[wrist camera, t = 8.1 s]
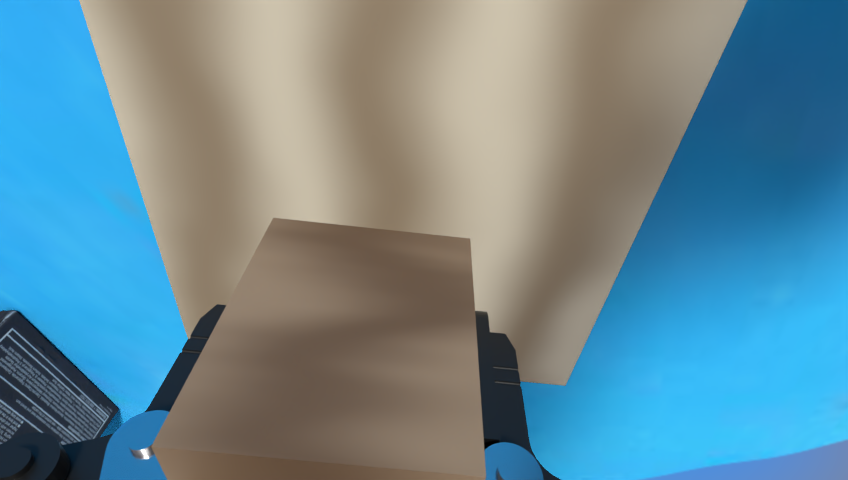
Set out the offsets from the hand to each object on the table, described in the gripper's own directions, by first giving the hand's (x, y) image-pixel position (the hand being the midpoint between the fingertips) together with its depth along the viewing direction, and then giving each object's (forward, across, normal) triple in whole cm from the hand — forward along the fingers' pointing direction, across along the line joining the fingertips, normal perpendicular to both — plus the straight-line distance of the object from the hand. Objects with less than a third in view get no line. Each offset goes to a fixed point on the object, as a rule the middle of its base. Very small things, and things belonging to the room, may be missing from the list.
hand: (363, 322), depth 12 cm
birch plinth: (+9, 0, 0) cm, 9 cm away
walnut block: (+1, 0, 0) cm, 1 cm away
